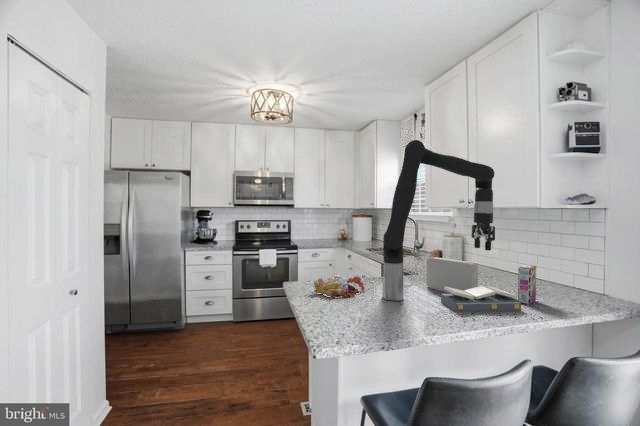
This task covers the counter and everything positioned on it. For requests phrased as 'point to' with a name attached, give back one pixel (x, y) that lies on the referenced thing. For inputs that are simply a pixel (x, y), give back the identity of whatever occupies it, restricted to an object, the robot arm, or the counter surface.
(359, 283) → the colourful mixed pile
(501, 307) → the tray
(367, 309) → the counter surface
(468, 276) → the upright grey rectangular panel
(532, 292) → the candy bar box
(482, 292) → the rocker
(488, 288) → the rocker
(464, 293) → the rocker
